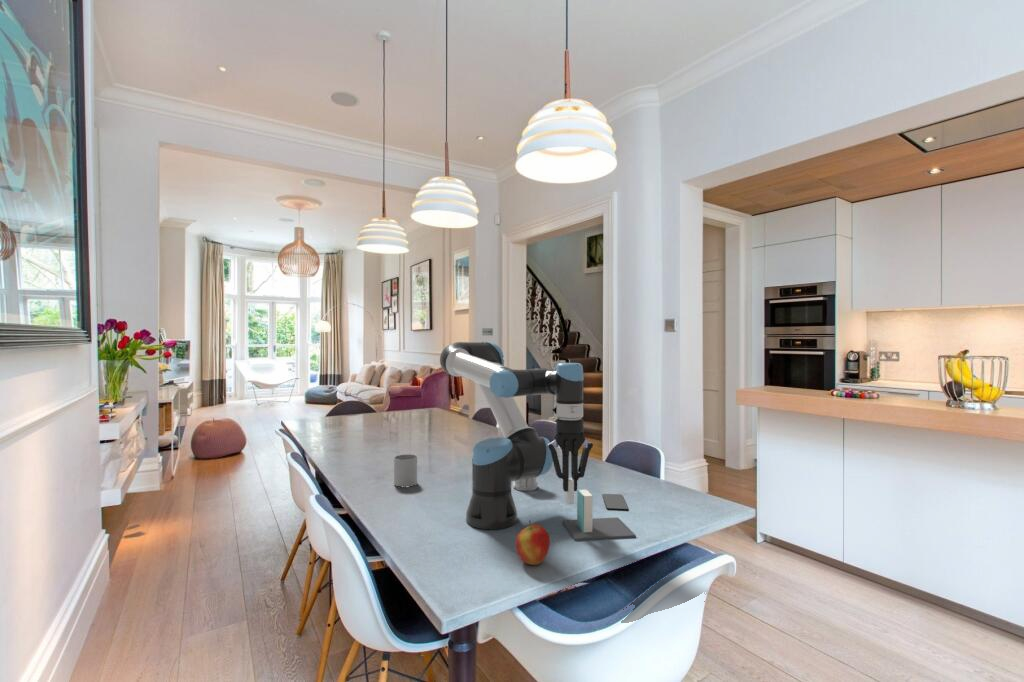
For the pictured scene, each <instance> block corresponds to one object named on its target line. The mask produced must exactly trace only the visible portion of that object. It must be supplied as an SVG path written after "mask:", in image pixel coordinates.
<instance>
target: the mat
mask: <svg viewBox="0 0 1024 682" xmlns="http://www.w3.org/2000/svg"><path fill="white" fill-rule="evenodd" d="M562 523H563V525H564V527H565V528H566V529H567V531H568V533H569V534H570V536H571V537H572V539H573V540H574V541H575V542H577V541H579V542H580V541H595V540H596V541H597V540H610V539H611V540H612V539H630V538H631V539H632V538H633V539H634V538H637V537H636V536H637V535H636V533H634V532H633V531H632V530H631V529H630V528H629V527H628V526H627V525H626V524H625V523H624V522H623V520H621V519H620V518H619V516H618V517H602V518H601V517H600V518H592V532H582V531H581V529H580V528H579V527H578V525H577V519H576V518H575V519H563V520H562Z"/></svg>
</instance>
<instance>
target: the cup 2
mask: <svg viewBox="0 0 1024 682" xmlns="http://www.w3.org/2000/svg"><path fill="white" fill-rule="evenodd" d="M513 488H514V489H515V490H516V491H520V492H530V491H531V492H532V491H535V490H536V489H537V488H538V482H537V477H531V478H526V479H521V480H516V481H513Z"/></svg>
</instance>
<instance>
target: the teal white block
mask: <svg viewBox="0 0 1024 682" xmlns="http://www.w3.org/2000/svg"><path fill="white" fill-rule="evenodd" d="M576 492H577V494H576V495H577V498H576V499H577V504H576V505H577V506H576V507H577V508H576V511H577V512H576V514H577V515H576V518H577V525H578V527H579V528H580V529H581V531H582V532H592V519H593V504H594V503H593V498H594V497H593V494H592V493H590V491H589V490H588V489H577V491H576Z"/></svg>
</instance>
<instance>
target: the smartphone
mask: <svg viewBox="0 0 1024 682" xmlns="http://www.w3.org/2000/svg"><path fill="white" fill-rule="evenodd" d="M601 495H602V498H603V499H602V500H603V502H604V506H605V509H606V511H618V512H619V511H623V512H627V511H629V507H628V505H627V502H626V499H625V498H624V496H623V494H621V493H618V494H617V493H602V494H601Z"/></svg>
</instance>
